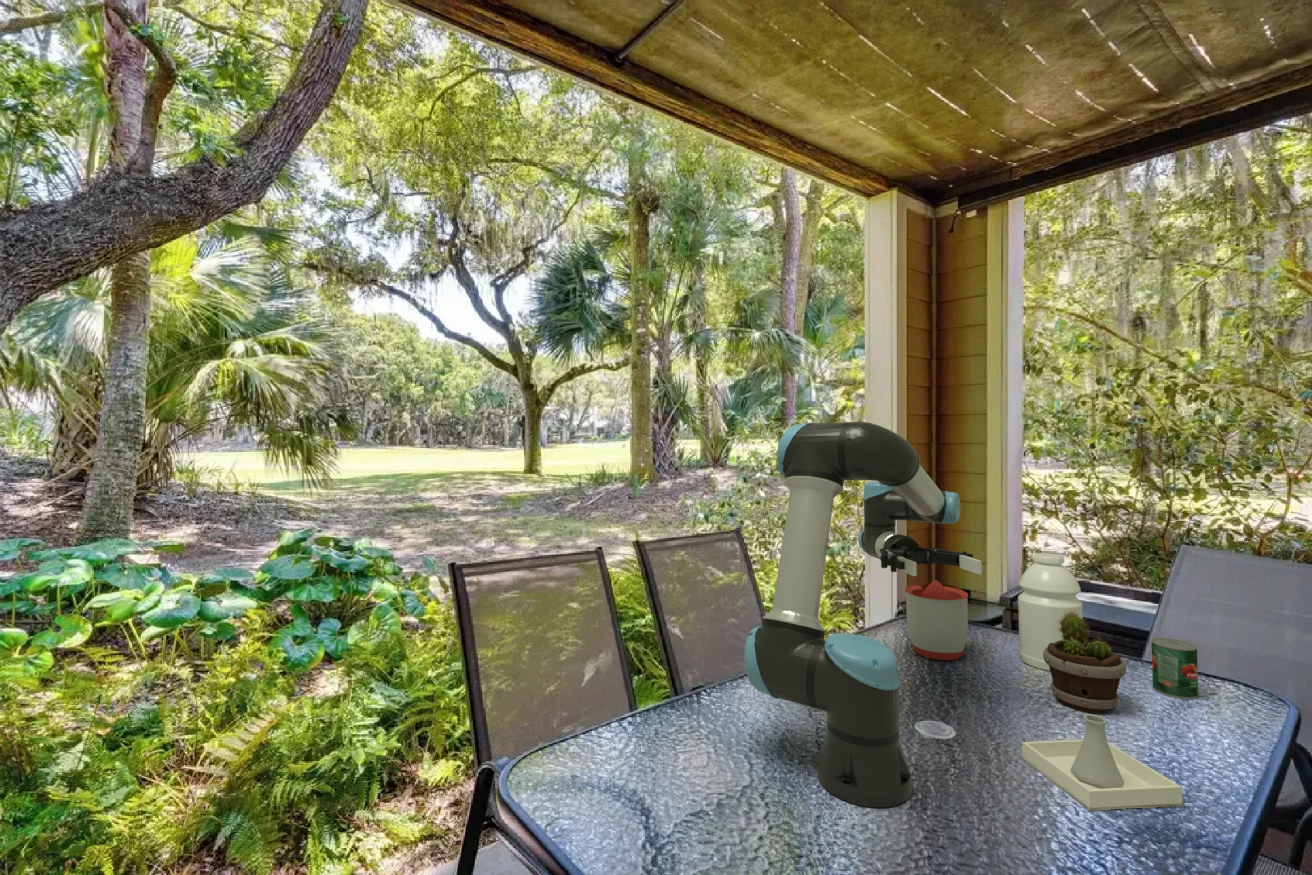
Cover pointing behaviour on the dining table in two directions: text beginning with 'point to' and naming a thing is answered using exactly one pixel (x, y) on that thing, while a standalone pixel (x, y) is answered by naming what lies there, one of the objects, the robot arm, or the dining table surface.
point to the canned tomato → (1175, 668)
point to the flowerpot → (1083, 668)
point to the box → (1135, 792)
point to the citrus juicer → (937, 620)
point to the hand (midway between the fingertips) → (947, 568)
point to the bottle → (1045, 606)
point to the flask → (1096, 756)
